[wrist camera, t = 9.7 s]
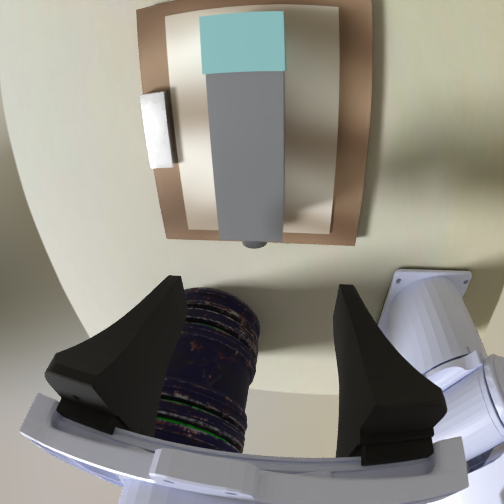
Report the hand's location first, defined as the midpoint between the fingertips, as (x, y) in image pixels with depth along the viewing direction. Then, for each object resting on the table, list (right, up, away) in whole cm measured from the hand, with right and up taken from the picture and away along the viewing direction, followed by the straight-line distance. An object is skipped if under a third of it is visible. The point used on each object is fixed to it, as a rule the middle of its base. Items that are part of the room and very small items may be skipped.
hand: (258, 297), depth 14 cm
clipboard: (0, +10, +4) cm, 11 cm away
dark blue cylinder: (-4, -5, +16) cm, 17 cm away
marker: (0, +10, +3) cm, 10 cm away
